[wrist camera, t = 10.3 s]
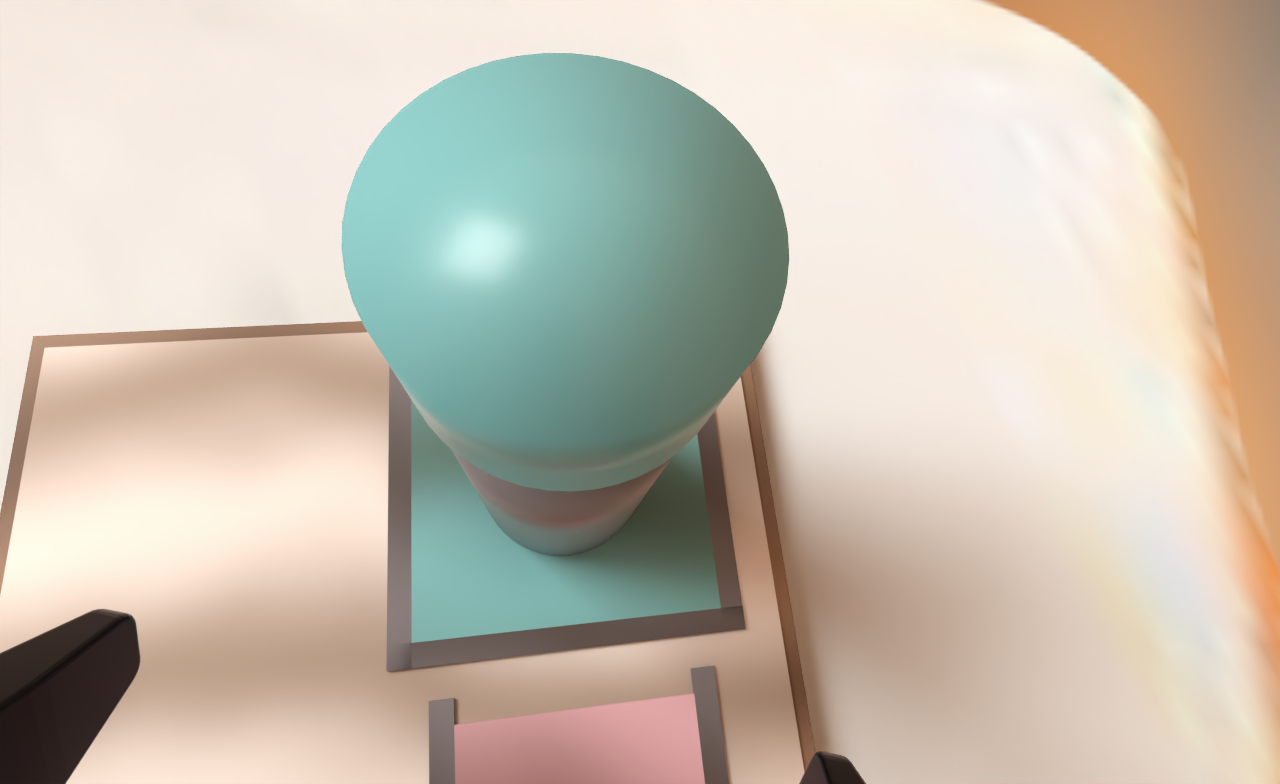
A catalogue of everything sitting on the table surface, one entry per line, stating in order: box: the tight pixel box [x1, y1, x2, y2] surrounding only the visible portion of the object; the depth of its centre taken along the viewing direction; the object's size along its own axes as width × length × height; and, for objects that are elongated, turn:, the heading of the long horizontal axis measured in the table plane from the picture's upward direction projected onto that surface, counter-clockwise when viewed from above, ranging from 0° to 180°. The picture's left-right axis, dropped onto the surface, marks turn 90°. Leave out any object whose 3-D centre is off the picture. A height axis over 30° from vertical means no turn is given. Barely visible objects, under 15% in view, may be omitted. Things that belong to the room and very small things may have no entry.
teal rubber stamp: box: [342, 53, 789, 556], centre depth 13 cm, size 5×5×12 cm
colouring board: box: [0, 321, 815, 784], centre depth 16 cm, size 20×20×4 cm
